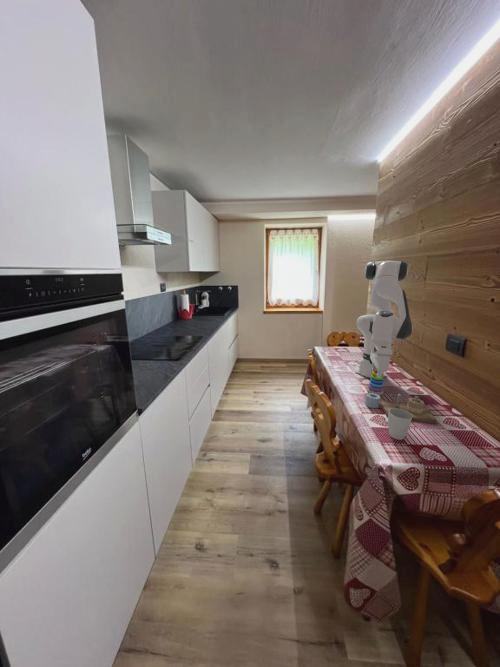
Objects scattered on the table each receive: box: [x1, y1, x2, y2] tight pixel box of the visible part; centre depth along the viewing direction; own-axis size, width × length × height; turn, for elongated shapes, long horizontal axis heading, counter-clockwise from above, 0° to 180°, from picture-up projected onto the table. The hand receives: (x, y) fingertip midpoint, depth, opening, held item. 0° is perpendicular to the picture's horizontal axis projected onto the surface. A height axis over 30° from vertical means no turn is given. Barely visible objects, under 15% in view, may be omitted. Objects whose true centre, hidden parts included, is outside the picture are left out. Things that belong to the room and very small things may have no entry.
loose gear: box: [364, 392, 381, 409], centre depth 130 cm, size 6×6×5 cm
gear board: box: [379, 393, 438, 425], centre depth 124 cm, size 14×20×8 cm
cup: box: [387, 408, 413, 441], centre depth 105 cm, size 8×8×10 cm
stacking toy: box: [366, 369, 384, 396], centre depth 143 cm, size 8×8×19 cm
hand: (376, 374), depth 127 cm, fingers open, 8 cm apart
